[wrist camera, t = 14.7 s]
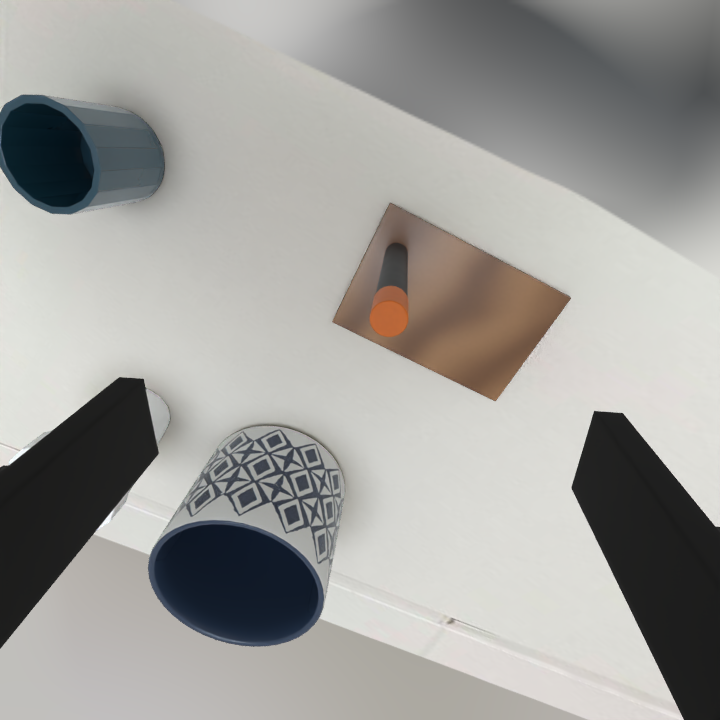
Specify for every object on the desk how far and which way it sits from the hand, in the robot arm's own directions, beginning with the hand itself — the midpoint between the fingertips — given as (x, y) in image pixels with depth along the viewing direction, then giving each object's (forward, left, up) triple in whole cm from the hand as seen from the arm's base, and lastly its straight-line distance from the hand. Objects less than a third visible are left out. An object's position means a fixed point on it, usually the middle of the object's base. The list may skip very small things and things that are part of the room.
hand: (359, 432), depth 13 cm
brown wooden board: (+5, +5, -29) cm, 30 cm away
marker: (+1, 0, -29) cm, 29 cm away
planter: (+27, -12, -29) cm, 42 cm away
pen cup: (-7, -24, -29) cm, 38 cm away
